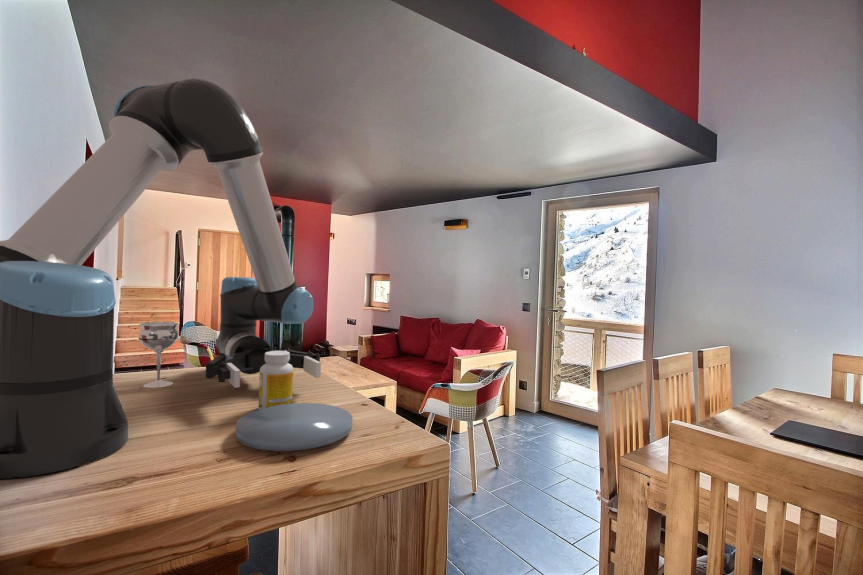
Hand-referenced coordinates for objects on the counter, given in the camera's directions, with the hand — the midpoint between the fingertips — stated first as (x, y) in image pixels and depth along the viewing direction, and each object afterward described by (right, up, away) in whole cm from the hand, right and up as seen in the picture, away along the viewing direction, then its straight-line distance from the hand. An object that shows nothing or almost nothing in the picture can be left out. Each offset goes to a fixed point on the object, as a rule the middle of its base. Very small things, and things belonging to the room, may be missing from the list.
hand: (280, 374), depth 73 cm
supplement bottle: (-1, -6, 0) cm, 6 cm away
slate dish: (+6, -6, -11) cm, 14 cm away
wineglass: (-28, -5, +12) cm, 31 cm away
